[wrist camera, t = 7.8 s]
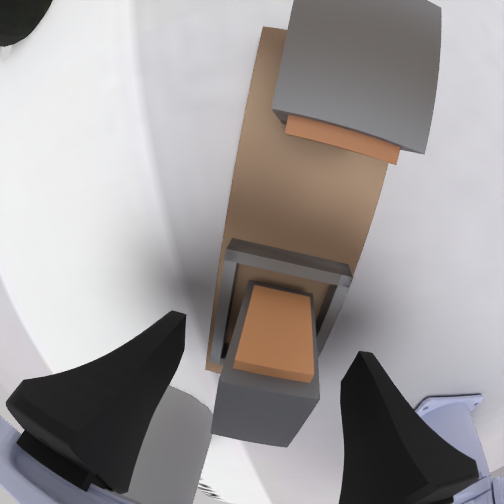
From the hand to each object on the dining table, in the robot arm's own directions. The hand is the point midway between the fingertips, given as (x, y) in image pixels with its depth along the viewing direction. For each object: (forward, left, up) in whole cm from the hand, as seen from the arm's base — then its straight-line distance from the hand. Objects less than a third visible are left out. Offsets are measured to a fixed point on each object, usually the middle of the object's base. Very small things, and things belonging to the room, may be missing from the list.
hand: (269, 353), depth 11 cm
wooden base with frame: (+4, 0, -4) cm, 5 cm away
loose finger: (0, 0, -3) cm, 3 cm away
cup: (-14, +6, -4) cm, 16 cm away
